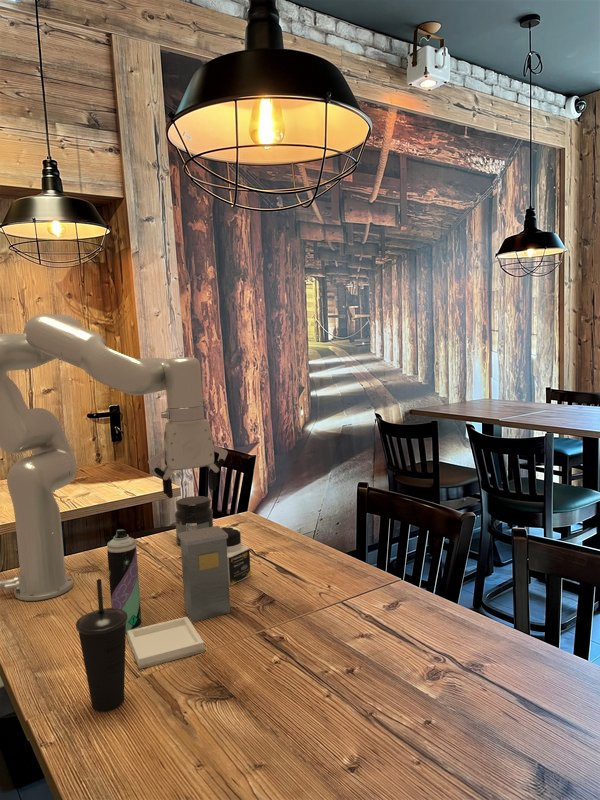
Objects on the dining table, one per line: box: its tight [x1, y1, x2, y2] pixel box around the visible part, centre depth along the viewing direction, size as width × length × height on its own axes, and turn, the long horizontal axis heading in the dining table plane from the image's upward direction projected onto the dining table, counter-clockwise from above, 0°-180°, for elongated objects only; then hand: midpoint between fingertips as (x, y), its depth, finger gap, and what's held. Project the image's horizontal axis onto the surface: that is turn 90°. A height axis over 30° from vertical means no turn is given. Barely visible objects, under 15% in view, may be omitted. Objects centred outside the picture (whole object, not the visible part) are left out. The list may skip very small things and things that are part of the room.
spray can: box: [106, 528, 143, 635], centre depth 117 cm, size 6×6×20 cm
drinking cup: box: [75, 578, 128, 712], centre depth 92 cm, size 8×8×20 cm
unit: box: [178, 525, 231, 623], centre depth 123 cm, size 9×7×17 cm
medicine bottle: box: [220, 526, 252, 587], centre depth 140 cm, size 7×7×12 cm
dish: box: [126, 616, 205, 670], centre depth 110 cm, size 12×12×2 cm
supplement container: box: [174, 495, 214, 546], centre depth 167 cm, size 10×10×12 cm
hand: (191, 493), depth 129 cm, fingers open, 9 cm apart
